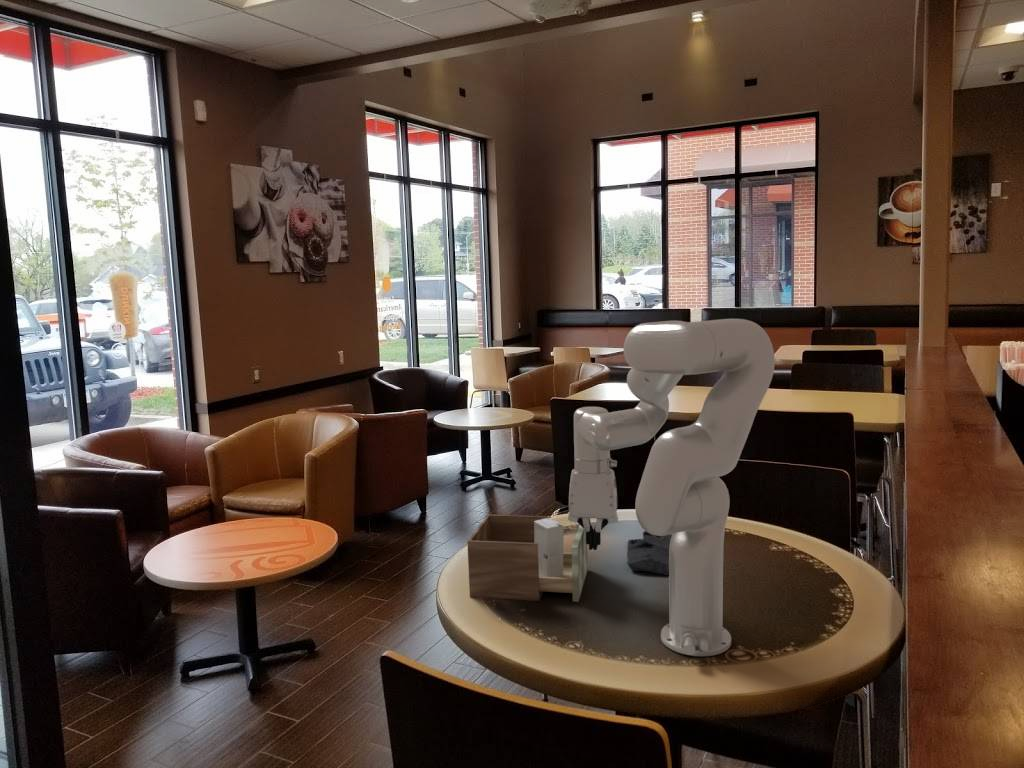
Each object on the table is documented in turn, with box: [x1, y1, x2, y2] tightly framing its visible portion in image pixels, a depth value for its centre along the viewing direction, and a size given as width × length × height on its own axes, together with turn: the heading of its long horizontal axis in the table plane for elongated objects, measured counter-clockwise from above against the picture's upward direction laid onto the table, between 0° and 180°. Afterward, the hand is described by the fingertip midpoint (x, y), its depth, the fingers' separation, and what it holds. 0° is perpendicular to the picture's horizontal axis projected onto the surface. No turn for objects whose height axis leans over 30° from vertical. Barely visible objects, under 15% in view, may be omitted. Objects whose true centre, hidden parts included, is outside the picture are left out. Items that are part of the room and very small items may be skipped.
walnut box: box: [466, 513, 552, 602], centre depth 168 cm, size 18×15×12 cm
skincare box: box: [534, 517, 565, 577], centre depth 166 cm, size 6×4×12 cm
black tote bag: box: [626, 530, 672, 576], centre depth 180 cm, size 15×22×5 cm
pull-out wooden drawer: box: [539, 524, 589, 603], centre depth 167 cm, size 18×15×12 cm
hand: (593, 547), depth 164 cm, fingers closed
